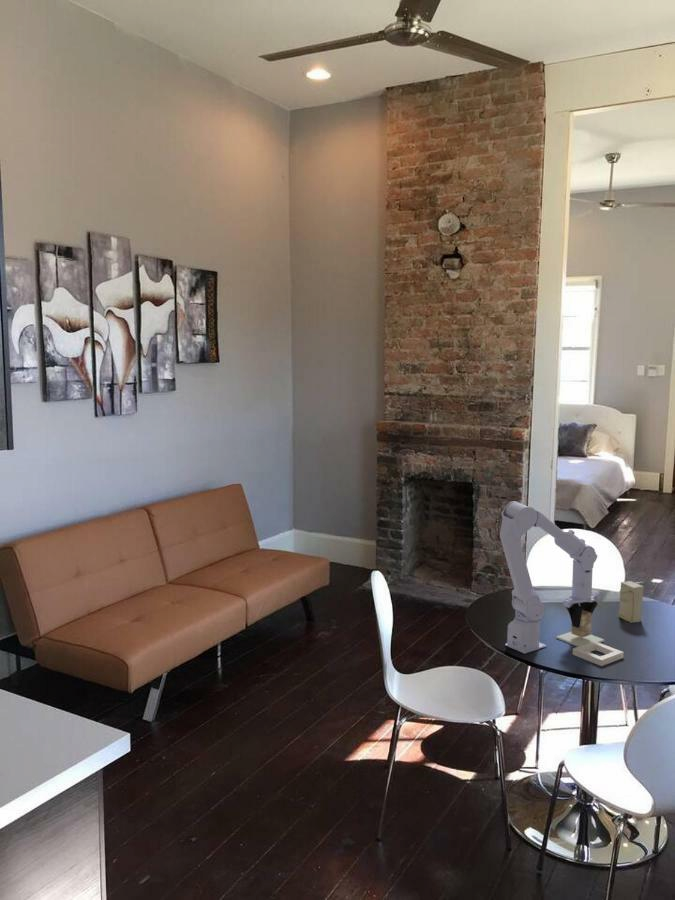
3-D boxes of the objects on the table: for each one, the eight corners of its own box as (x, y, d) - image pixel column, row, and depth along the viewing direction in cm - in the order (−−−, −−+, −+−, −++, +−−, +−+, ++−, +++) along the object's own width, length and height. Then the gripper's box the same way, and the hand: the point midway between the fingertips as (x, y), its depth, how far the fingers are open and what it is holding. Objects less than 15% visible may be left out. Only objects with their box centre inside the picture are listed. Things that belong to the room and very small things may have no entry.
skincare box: (618, 617, 247) (619, 581, 245) (629, 615, 248) (630, 580, 247) (631, 623, 241) (633, 587, 240) (642, 621, 243) (644, 585, 241)
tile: (582, 648, 221) (583, 646, 221) (556, 638, 229) (556, 636, 229) (604, 641, 226) (604, 639, 226) (577, 631, 235) (577, 629, 235)
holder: (601, 666, 209) (601, 660, 208) (572, 654, 217) (572, 648, 217) (623, 657, 214) (623, 652, 214) (594, 646, 222) (594, 641, 222)
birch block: (582, 637, 225) (582, 615, 224) (571, 633, 228) (572, 611, 227) (590, 634, 227) (591, 612, 226) (579, 630, 230) (580, 609, 229)
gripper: (577, 590, 218) (575, 634, 220) (608, 581, 226) (606, 624, 228) (558, 584, 224) (556, 627, 226) (589, 575, 232) (587, 617, 234)
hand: (580, 625), depth 227 cm, fingers closed on birch block, 4 cm apart
